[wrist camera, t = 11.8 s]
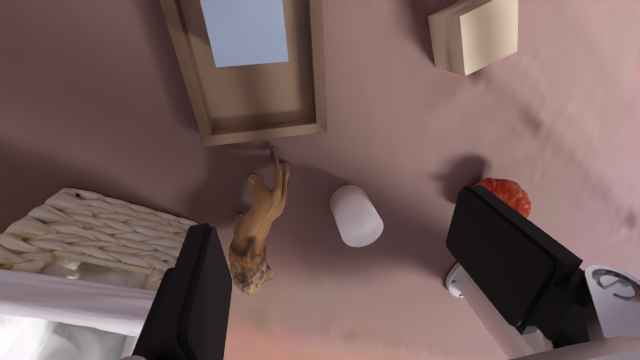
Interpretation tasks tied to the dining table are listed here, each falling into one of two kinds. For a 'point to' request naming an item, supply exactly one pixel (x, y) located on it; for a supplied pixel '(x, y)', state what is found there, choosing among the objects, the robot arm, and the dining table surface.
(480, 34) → the beech cube
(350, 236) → the off-white ceramic salt cellar
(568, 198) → the dining table surface
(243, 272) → the lion figurine
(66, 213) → the storage basket
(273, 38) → the slate-blue block
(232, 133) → the walnut tray
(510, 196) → the pomegranate
